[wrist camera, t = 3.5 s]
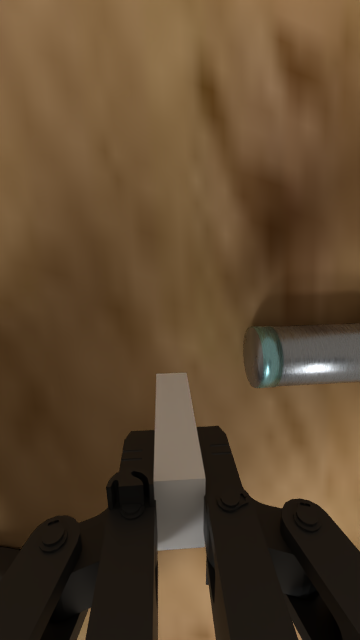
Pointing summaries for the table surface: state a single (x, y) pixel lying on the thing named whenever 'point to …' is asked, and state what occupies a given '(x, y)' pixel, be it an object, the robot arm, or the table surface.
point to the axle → (302, 354)
